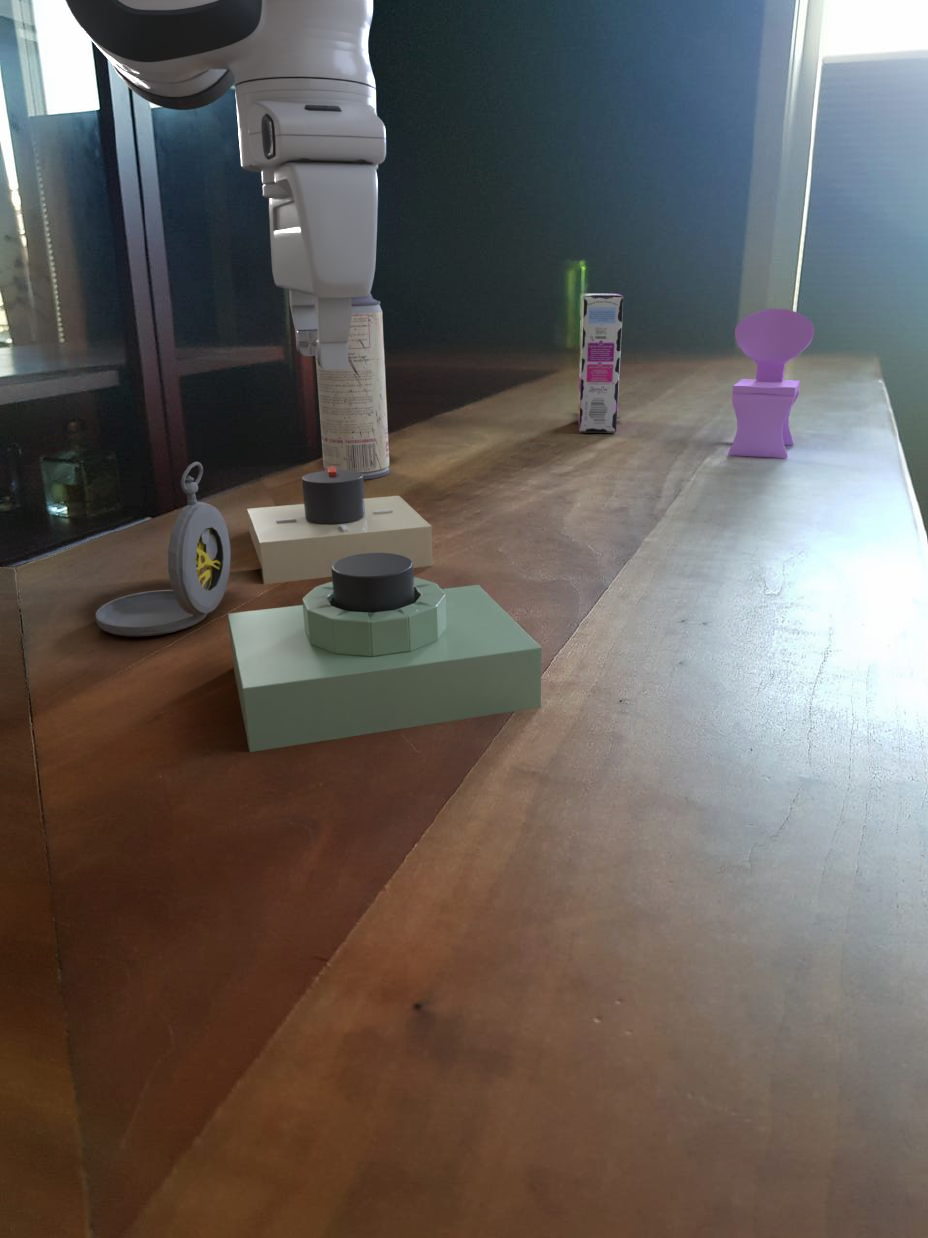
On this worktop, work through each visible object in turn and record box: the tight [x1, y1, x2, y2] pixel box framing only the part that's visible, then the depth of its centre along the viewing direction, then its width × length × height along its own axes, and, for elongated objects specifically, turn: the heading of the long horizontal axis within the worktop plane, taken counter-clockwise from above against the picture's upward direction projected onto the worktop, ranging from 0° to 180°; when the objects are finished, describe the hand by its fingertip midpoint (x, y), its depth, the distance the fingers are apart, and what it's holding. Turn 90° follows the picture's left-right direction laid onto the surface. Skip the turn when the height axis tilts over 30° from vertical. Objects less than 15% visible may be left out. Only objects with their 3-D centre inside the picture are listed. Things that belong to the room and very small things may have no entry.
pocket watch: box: [95, 461, 231, 638], centre depth 56 cm, size 8×8×10 cm
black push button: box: [331, 553, 415, 613], centre depth 47 cm, size 4×4×2 cm
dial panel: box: [246, 495, 433, 585], centre depth 70 cm, size 12×10×3 cm
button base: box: [227, 576, 543, 753], centre depth 48 cm, size 14×10×5 cm
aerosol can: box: [315, 292, 391, 481], centre depth 95 cm, size 7×7×20 cm
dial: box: [301, 466, 365, 524], centre depth 69 cm, size 4×4×3 cm
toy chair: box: [727, 308, 815, 459], centre depth 103 cm, size 8×9×15 cm
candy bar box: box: [577, 292, 624, 434], centre depth 120 cm, size 11×5×16 cm, turn 174°
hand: (321, 361), depth 66 cm, fingers open, 8 cm apart
